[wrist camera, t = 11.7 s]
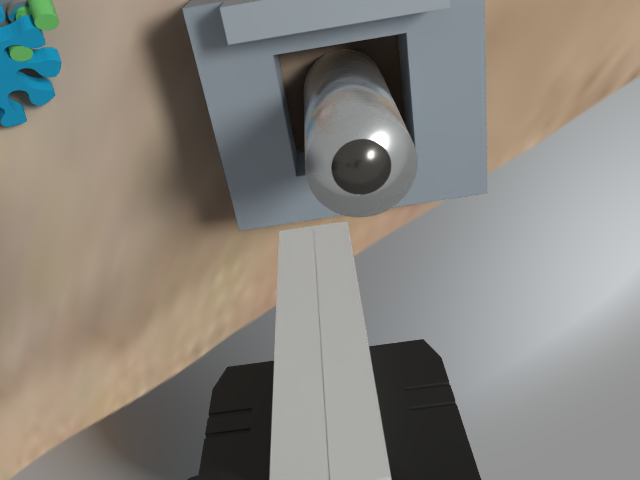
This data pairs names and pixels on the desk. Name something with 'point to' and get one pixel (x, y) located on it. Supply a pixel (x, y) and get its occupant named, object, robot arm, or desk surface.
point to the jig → (325, 30)
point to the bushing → (355, 137)
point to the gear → (25, 55)
